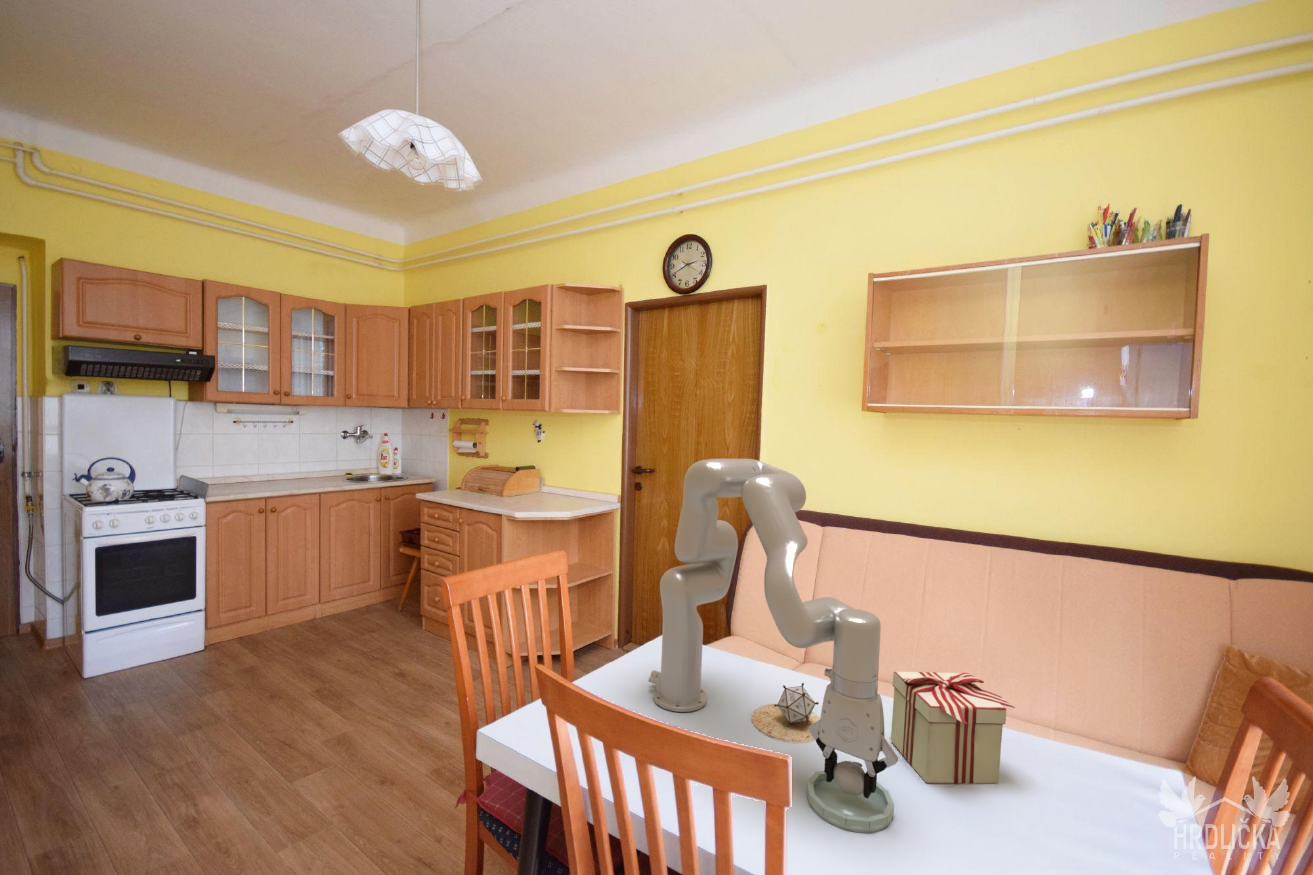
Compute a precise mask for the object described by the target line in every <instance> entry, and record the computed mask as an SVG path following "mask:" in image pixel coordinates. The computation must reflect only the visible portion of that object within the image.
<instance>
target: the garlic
mask: <svg viewBox="0 0 1313 875" xmlns="http://www.w3.org/2000/svg"><path fill="white" fill-rule="evenodd" d="M865 773H866V771H864V769H863V764H862V763H861V762H857V761H850V760H843V761H840V762H837V764H835V766H834V769H833V776H834V779H835V782H836V784H837V785H838V786H839V787H840V788H841V789H842V790H843V791H844V792H847V793H850V794H853V795H860V794H862V793H863V792H864V775H865Z"/></svg>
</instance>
